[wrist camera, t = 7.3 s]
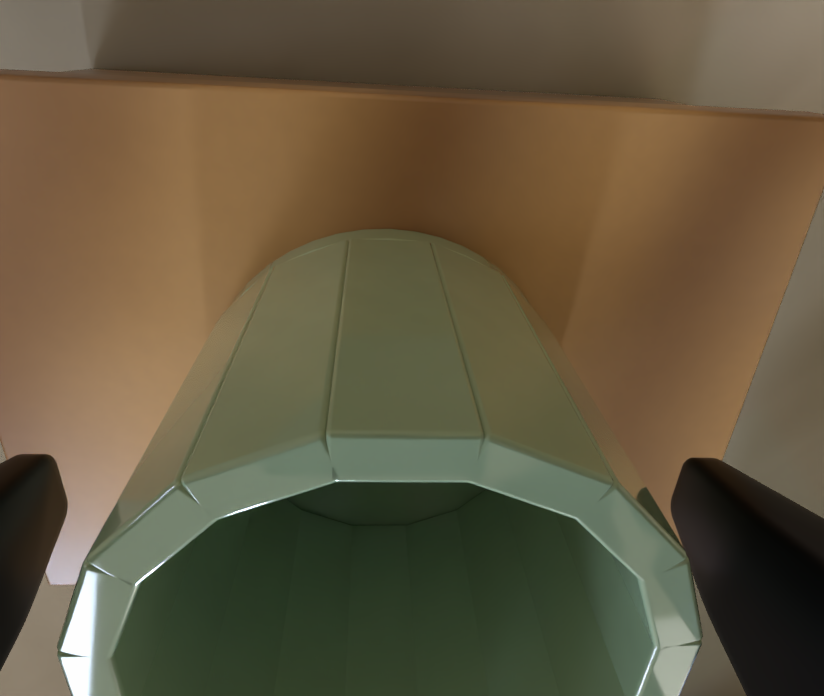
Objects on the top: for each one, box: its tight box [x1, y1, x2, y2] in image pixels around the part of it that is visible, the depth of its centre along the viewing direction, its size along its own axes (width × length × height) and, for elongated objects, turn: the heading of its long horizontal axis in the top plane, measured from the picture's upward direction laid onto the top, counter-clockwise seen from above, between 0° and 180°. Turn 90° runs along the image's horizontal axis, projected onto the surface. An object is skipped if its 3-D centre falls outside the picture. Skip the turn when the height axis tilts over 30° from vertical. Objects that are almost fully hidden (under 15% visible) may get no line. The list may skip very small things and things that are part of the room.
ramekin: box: [57, 229, 703, 696], centre depth 8 cm, size 6×6×6 cm
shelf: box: [0, 69, 824, 585], centre depth 13 cm, size 14×10×6 cm
